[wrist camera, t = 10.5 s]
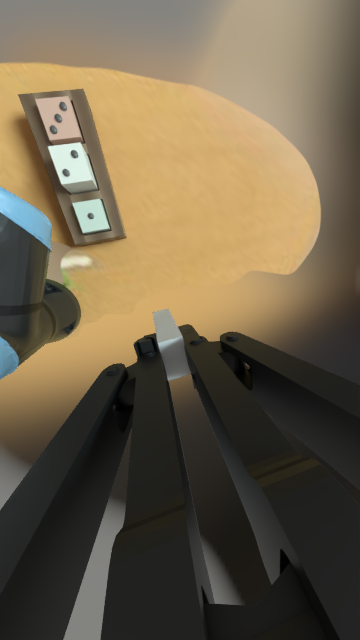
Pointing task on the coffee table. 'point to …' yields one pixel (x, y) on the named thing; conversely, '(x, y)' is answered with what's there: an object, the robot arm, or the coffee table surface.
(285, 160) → the coffee table surface
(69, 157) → the tile two
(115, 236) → the board
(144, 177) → the coffee table surface
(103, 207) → the tile one
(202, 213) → the coffee table surface
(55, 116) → the tile three
